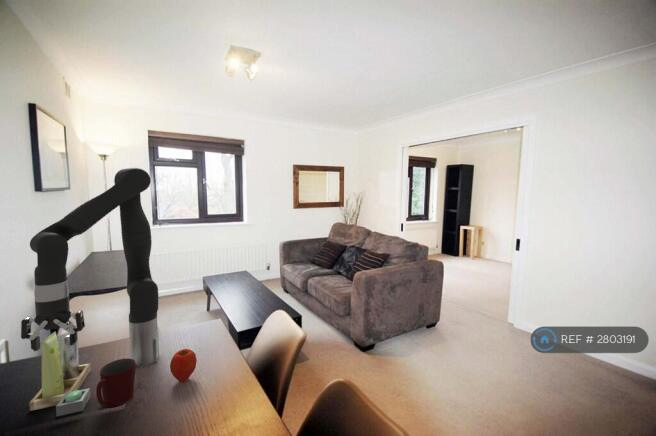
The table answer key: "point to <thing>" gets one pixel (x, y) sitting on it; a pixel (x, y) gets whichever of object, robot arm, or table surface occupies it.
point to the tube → (51, 368)
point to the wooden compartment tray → (69, 386)
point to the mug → (116, 382)
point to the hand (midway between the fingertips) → (55, 346)
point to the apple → (183, 364)
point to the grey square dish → (72, 404)
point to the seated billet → (68, 357)
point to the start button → (74, 396)
